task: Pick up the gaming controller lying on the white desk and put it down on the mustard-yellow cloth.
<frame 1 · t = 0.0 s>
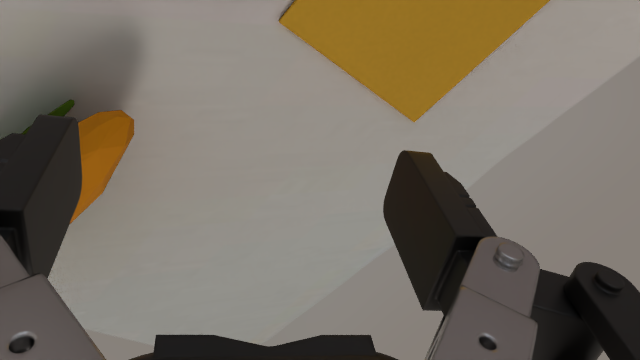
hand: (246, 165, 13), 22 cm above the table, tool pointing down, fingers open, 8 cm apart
corn: (51, 159, 39), on the table
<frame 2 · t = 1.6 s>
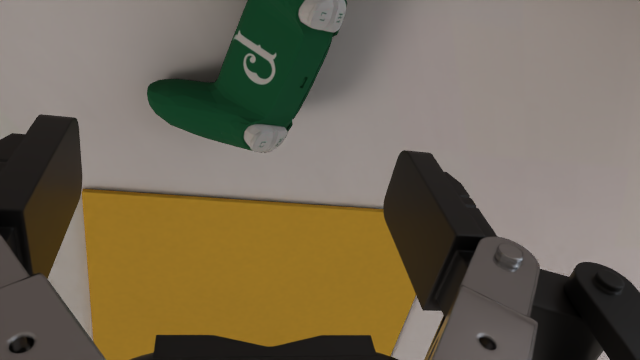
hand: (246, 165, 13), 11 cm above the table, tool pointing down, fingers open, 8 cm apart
gaming controller: (243, 30, 22), on the table
cloth: (263, 292, 31), on the table
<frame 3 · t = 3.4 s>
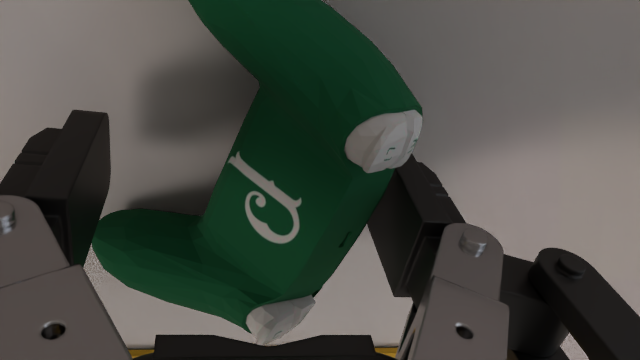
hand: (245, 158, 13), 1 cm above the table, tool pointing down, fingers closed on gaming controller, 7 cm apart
gaming controller: (243, 136, 14), on the table, touching gripper
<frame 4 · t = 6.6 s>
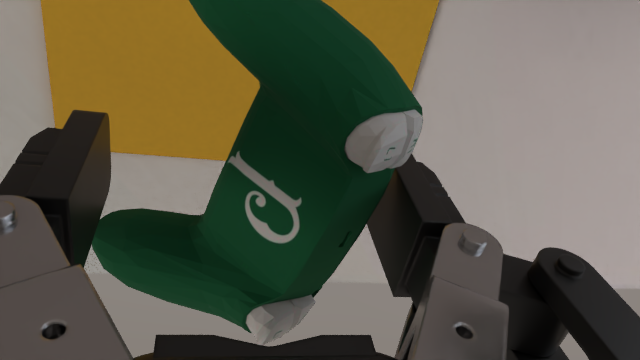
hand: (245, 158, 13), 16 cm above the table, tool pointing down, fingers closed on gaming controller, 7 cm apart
gaming controller: (243, 135, 14), point 14 cm above the table, touching gripper
cloth: (246, 50, 27), on the table
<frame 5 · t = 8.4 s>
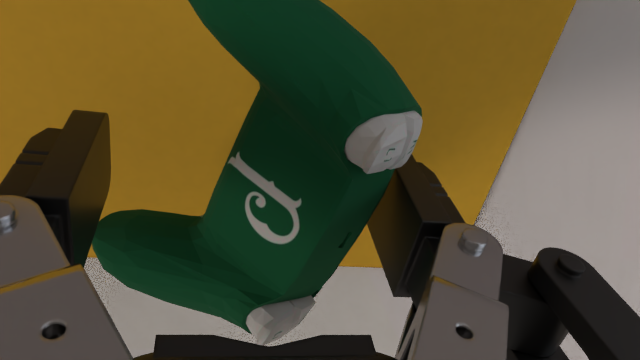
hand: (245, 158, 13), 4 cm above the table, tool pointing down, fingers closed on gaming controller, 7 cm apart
gaming controller: (243, 136, 14), point 3 cm above the table, touching gripper
cloth: (243, 97, 16), on the table
when the fingers open (1 cm above the table, at t = 9.8 s): gaming controller stays where it is, resting on cloth.
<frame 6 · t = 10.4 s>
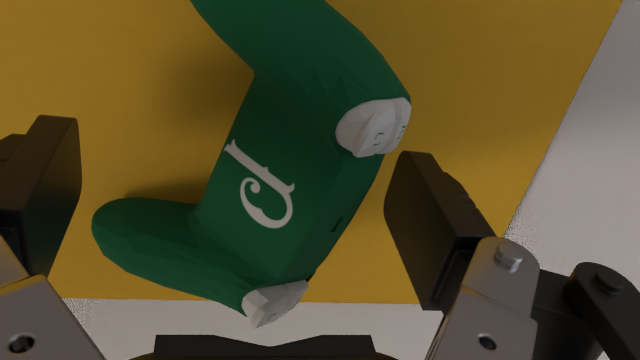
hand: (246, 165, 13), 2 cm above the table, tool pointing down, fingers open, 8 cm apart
gaming controller: (239, 125, 14), resting on cloth
cloth: (240, 125, 14), on the table
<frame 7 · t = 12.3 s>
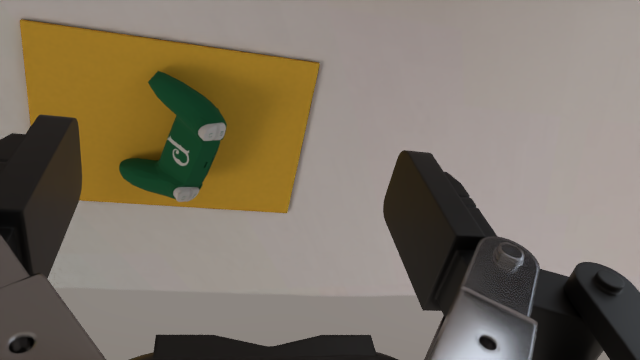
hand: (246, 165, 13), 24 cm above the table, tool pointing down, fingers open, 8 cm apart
gaming controller: (174, 131, 38), resting on cloth
cloth: (175, 130, 38), on the table
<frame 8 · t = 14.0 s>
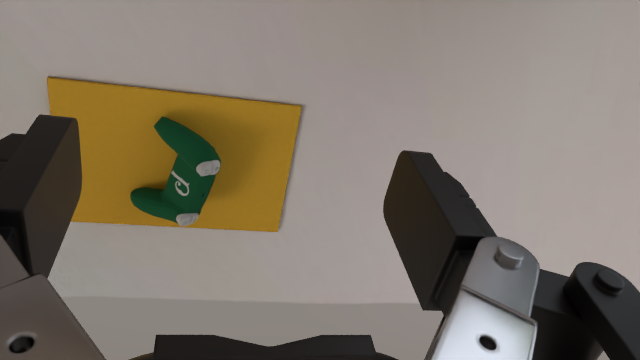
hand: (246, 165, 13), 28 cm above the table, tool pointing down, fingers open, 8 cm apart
gaming controller: (177, 164, 44), resting on cloth
cloth: (178, 164, 44), on the table
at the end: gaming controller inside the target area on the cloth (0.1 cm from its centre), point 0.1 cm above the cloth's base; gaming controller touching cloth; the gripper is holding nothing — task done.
